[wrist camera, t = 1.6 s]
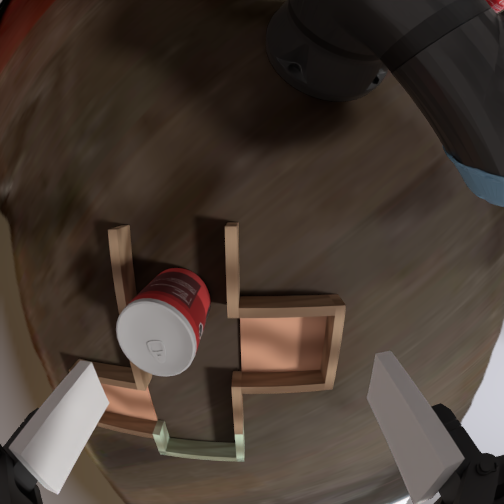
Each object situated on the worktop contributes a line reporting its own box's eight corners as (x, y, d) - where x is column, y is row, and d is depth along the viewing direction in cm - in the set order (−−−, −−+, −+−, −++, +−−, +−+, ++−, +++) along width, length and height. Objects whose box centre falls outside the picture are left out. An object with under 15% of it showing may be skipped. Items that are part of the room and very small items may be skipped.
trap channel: (51, 229, 31) (36, 233, 28) (342, 222, 31) (352, 227, 28) (107, 429, 40) (101, 440, 36) (312, 443, 40) (315, 457, 36)
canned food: (172, 333, 35) (146, 385, 24) (140, 281, 33) (99, 318, 22) (223, 312, 34) (212, 363, 23) (192, 255, 32) (164, 287, 22)
